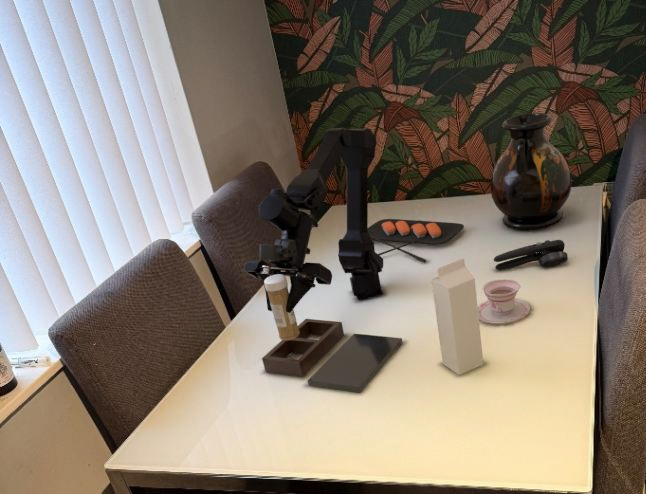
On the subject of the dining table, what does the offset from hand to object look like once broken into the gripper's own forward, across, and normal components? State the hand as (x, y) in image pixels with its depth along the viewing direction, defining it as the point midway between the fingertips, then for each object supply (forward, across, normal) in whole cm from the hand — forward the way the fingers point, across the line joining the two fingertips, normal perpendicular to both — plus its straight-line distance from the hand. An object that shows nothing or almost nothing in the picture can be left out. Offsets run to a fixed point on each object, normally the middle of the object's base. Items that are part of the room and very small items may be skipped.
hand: (278, 311), depth 156 cm
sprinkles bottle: (+4, 0, +6) cm, 7 cm away
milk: (+4, +36, +15) cm, 39 cm away
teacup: (-12, +37, +31) cm, 50 cm away
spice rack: (+6, 0, +13) cm, 14 cm away
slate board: (+7, +14, +12) cm, 19 cm away
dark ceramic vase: (-49, +27, +70) cm, 89 cm away
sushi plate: (-35, -5, +55) cm, 65 cm away
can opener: (-30, +35, +49) cm, 67 cm away
